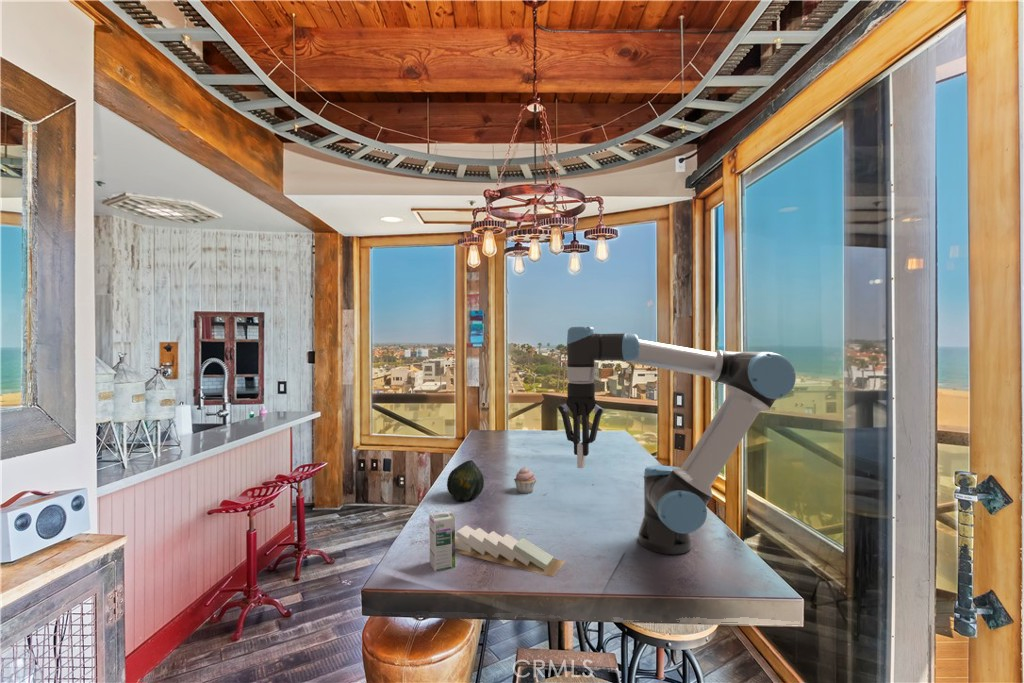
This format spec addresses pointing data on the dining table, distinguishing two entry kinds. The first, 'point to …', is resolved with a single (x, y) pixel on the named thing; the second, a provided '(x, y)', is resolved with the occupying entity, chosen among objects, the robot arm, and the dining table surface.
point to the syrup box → (442, 540)
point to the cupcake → (525, 481)
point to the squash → (465, 481)
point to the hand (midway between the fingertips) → (581, 466)
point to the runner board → (517, 562)
